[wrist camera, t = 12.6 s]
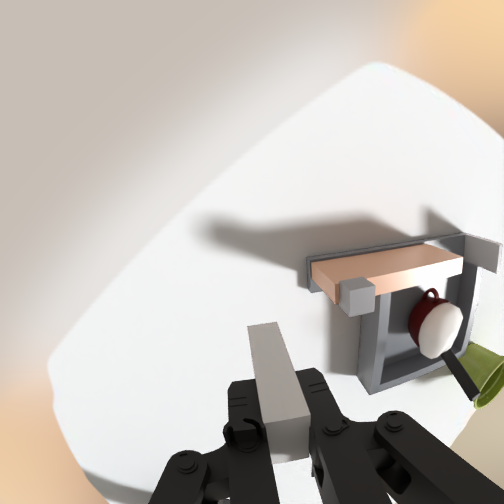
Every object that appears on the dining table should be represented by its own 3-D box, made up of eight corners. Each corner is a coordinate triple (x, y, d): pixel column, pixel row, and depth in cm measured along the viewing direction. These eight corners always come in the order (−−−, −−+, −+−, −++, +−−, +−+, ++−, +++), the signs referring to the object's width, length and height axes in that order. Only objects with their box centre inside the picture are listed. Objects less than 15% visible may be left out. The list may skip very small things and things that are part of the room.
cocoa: (410, 280, 28) (483, 319, 16) (446, 282, 28) (515, 315, 16) (390, 355, 29) (443, 412, 18) (426, 351, 30) (480, 398, 18)
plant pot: (443, 390, 35) (470, 419, 26) (447, 352, 32) (481, 382, 24) (479, 363, 35) (507, 386, 26) (484, 323, 32) (518, 346, 24)
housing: (311, 387, 30) (328, 427, 24) (306, 257, 27) (332, 281, 20) (448, 342, 32) (477, 365, 25) (463, 232, 28) (502, 243, 21)
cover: (312, 280, 26) (345, 318, 18) (311, 260, 25) (345, 291, 18) (426, 259, 27) (475, 281, 19) (426, 241, 26) (477, 260, 18)
